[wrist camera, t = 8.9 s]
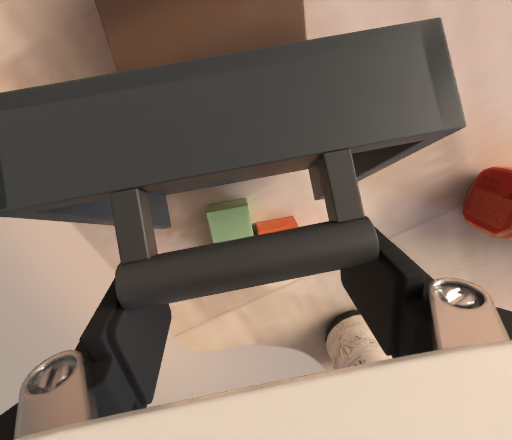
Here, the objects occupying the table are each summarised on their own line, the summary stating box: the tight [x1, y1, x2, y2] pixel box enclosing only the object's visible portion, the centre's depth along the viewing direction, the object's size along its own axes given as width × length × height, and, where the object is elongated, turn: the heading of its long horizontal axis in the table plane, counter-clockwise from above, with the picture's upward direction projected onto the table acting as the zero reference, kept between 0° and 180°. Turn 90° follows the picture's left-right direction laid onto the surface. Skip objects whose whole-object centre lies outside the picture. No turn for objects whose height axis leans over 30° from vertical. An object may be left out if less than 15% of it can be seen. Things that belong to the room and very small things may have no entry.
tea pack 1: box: [206, 198, 253, 244], centre depth 28 cm, size 5×4×2 cm
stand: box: [95, 0, 307, 73], centre depth 22 cm, size 16×14×4 cm
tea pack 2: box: [256, 216, 298, 235], centre depth 30 cm, size 5×4×2 cm
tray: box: [0, 18, 466, 311], centre depth 15 cm, size 16×14×7 cm
